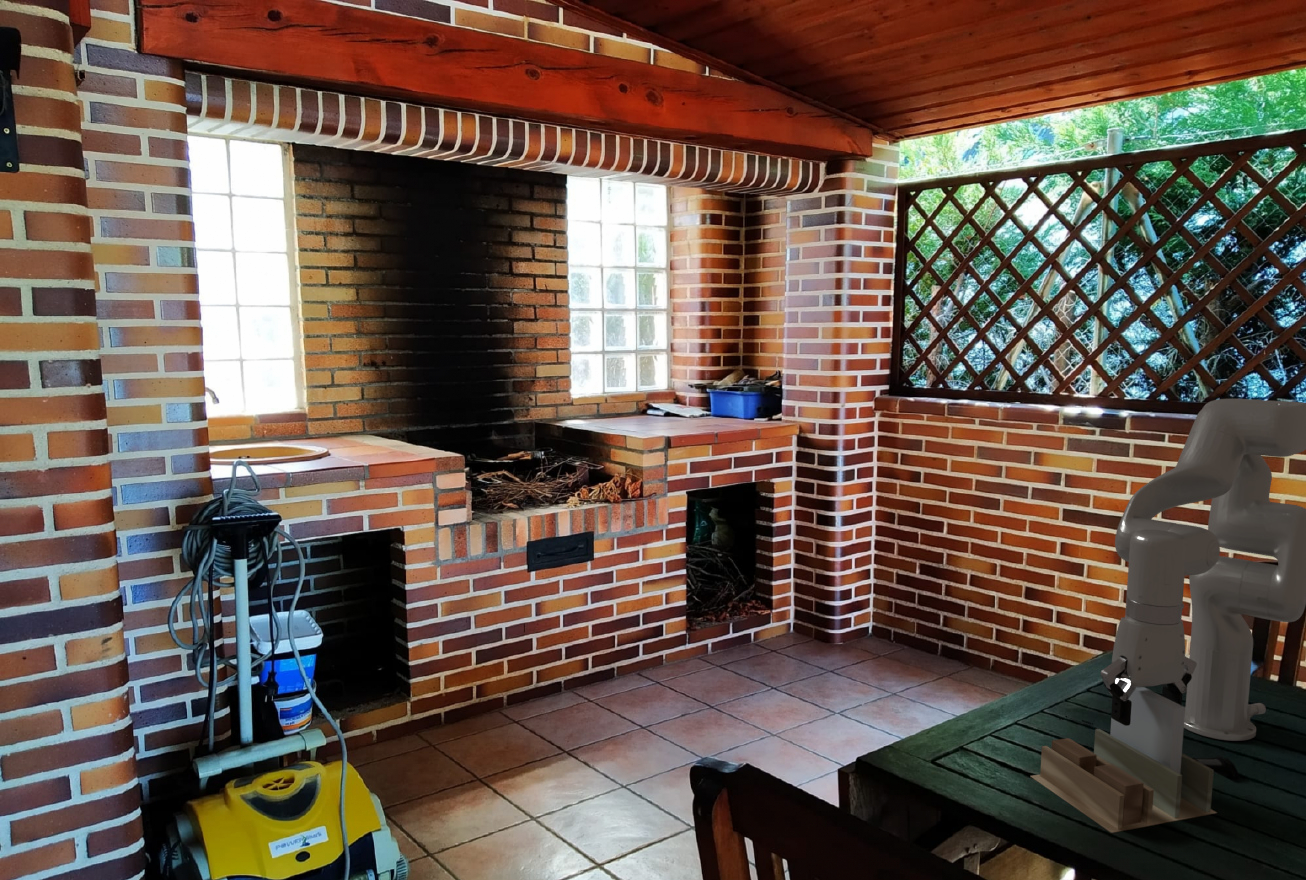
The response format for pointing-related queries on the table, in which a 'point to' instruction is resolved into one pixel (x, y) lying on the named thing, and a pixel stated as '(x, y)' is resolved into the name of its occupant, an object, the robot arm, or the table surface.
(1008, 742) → the table surface
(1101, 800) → the rack
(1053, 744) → the offcut
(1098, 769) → the offcut
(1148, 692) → the sheet
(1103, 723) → the table surface
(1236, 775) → the electric trimmer
